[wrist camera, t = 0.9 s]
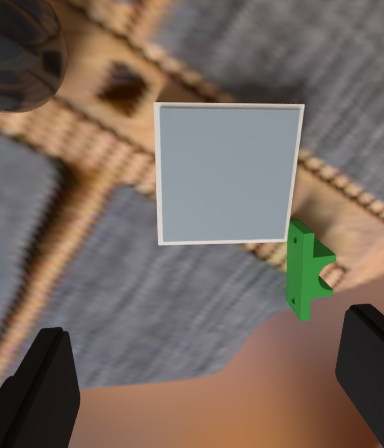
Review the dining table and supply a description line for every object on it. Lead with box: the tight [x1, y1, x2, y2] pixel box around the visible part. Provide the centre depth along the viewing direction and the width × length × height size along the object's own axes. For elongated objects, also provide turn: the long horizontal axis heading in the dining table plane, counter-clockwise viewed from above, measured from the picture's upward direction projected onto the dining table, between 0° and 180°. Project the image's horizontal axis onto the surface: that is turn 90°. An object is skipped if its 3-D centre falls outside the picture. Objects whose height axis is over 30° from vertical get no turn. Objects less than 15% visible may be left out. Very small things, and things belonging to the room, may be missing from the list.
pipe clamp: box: [286, 219, 336, 321], centre depth 35 cm, size 11×4×5 cm, turn 5°
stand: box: [154, 102, 305, 245], centre depth 31 cm, size 14×14×3 cm
